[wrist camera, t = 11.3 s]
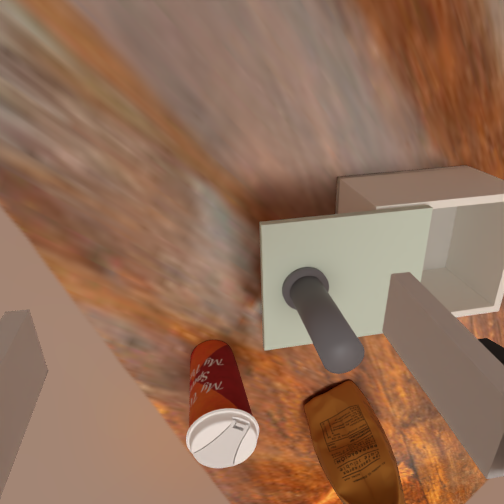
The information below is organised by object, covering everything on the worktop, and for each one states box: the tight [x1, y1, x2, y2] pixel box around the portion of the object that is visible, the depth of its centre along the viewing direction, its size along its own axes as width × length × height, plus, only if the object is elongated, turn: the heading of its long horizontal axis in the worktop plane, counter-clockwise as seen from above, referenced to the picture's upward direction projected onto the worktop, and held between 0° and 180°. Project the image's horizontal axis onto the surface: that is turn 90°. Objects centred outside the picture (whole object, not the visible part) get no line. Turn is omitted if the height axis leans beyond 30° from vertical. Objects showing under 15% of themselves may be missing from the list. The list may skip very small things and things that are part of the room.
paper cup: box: [186, 340, 259, 468], centre depth 49 cm, size 8×8×14 cm
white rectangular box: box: [335, 165, 504, 317], centre depth 47 cm, size 14×16×10 cm
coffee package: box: [304, 381, 406, 504], centre depth 55 cm, size 10×12×22 cm
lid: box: [259, 205, 433, 374], centre depth 36 cm, size 14×16×11 cm
